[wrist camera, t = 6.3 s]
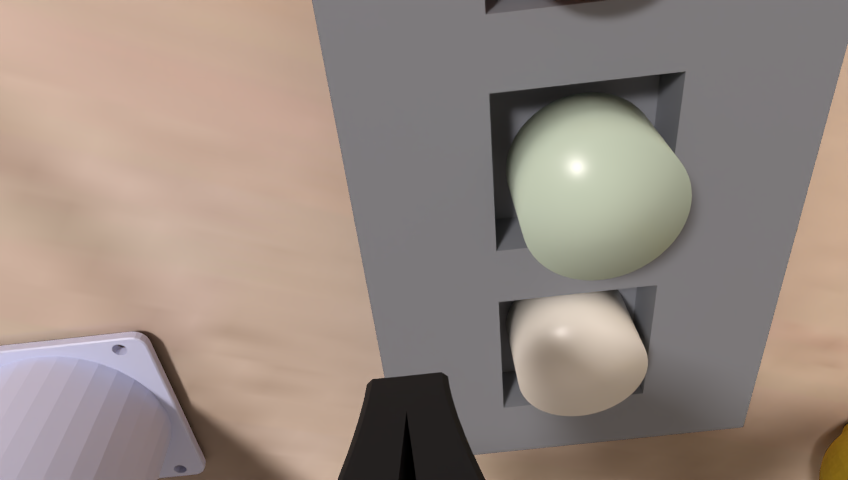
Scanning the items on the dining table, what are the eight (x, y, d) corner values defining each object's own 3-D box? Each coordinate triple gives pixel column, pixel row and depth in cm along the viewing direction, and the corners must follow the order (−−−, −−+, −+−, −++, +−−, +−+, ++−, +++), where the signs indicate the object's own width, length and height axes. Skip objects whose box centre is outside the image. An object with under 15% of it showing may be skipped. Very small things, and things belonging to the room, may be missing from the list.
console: (399, 411, 27) (400, 462, 25) (258, -370, 14) (235, -396, 11) (716, 377, 27) (743, 427, 25) (900, -452, 13) (993, -492, 11)
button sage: (507, 232, 20) (522, 288, 18) (503, 101, 17) (519, 147, 15) (648, 217, 20) (680, 271, 18) (663, 83, 17) (702, 127, 15)
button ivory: (507, 366, 25) (519, 422, 23) (504, 279, 22) (516, 332, 20) (619, 354, 25) (642, 409, 23) (628, 266, 22) (654, 317, 20)
